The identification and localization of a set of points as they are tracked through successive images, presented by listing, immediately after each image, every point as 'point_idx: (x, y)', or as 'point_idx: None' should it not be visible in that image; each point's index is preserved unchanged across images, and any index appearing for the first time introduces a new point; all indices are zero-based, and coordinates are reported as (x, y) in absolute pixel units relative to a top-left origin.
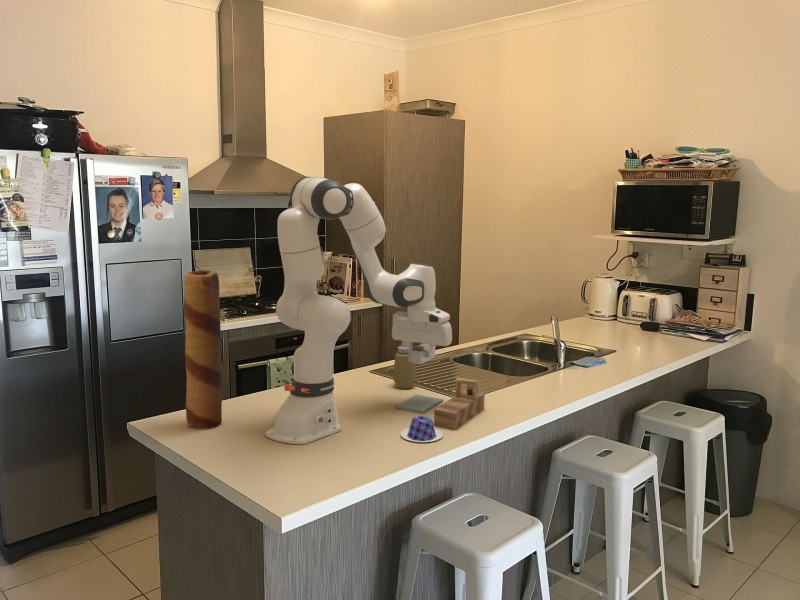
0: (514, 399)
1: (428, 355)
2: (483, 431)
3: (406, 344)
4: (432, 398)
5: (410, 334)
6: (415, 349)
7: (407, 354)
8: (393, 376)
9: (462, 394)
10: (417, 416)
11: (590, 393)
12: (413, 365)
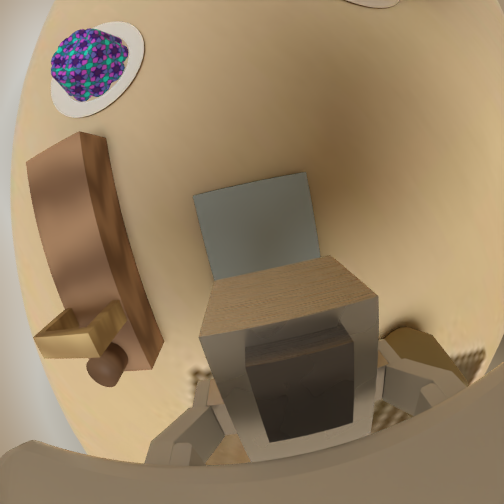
0: (130, 424)
1: (211, 388)
2: (21, 209)
3: None
4: None
5: (477, 468)
6: (301, 341)
7: None
8: (433, 337)
9: (122, 332)
10: (89, 51)
11: None
12: None
